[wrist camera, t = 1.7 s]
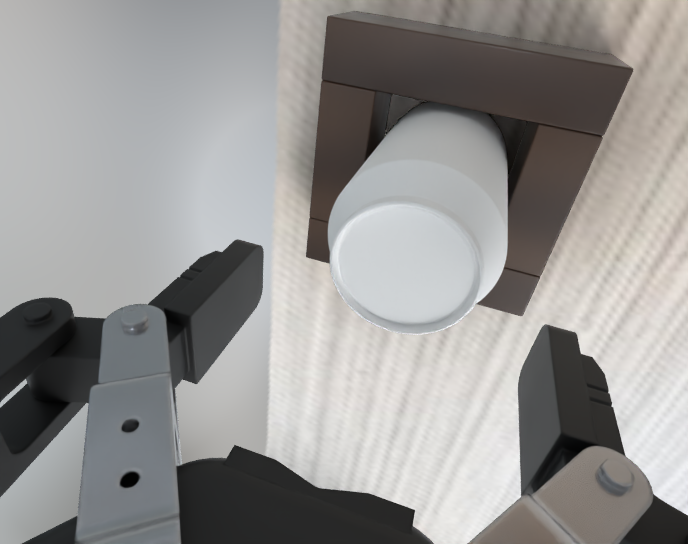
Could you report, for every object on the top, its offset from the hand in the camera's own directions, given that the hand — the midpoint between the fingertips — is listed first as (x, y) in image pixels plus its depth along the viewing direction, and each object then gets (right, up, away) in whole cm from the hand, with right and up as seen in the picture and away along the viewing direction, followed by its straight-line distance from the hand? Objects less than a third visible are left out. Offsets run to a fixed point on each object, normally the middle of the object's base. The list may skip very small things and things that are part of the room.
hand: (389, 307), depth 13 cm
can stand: (+4, +7, +11) cm, 14 cm away
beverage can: (+4, +7, +11) cm, 14 cm away
